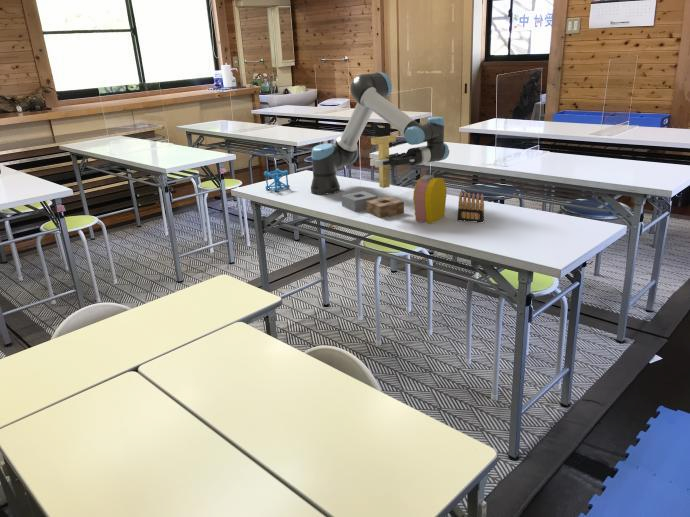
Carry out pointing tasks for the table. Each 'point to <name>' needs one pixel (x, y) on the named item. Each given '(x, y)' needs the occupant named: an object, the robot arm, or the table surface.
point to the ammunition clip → (471, 208)
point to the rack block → (357, 200)
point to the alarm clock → (429, 199)
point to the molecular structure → (276, 179)
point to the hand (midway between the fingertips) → (373, 163)
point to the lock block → (384, 207)
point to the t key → (383, 154)
